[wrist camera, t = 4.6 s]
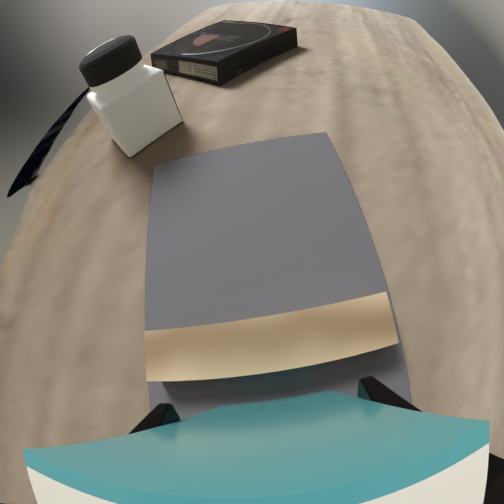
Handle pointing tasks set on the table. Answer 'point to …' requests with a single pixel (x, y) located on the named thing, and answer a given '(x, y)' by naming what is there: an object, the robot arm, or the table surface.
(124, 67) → the medicine bottle
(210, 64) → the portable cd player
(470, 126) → the table surface
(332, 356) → the ledge
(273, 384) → the mat
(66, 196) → the table surface
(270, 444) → the tile
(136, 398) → the table surface
